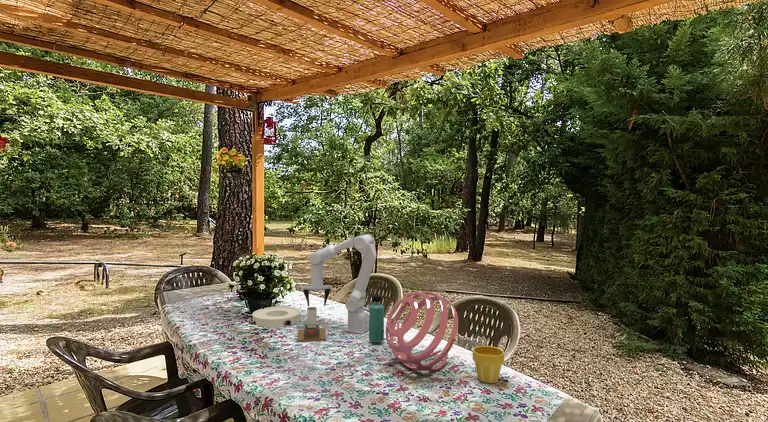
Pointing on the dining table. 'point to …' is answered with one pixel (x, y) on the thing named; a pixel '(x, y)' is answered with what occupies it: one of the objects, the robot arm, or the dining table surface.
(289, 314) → the ashtray
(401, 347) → the spiral basket
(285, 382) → the dining table surface
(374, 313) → the beverage bottle
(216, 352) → the dining table surface
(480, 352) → the plant pot
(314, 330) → the stand base
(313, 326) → the grayish brown rectangular block
